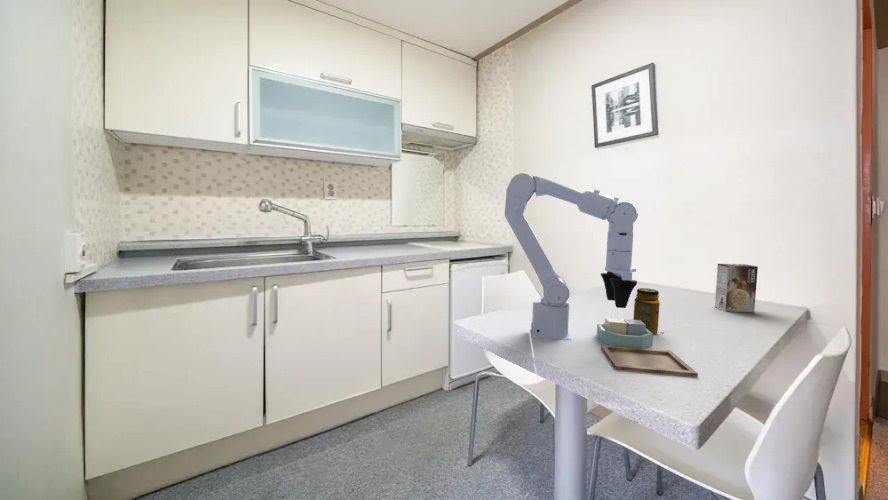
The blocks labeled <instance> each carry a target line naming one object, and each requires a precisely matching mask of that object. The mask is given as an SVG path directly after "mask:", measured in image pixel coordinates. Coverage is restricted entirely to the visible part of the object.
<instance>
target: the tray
mask: <svg viewBox="0 0 888 500" xmlns="http://www.w3.org/2000/svg"><path fill="white" fill-rule="evenodd" d="M600 349H601V350H602V352H603V353H604V355H605V357H607V359H608V361H609V362H610V364H611V366H612V367H613V368H614V370H616V371H626V372H627V371H628V372H638V373H648V374H649V373H650V374H660V375H671V376H672V375H673V376H679V377H680V376H682V377H692V378H693V377H694V378H698V377H699V373H698V372H697V371H696V370H695V369H693V368H692V367H691V366H690V365H689V364H688V363H687V362H685V361H684V360H682V359H681V358H680V357H679V356H678V355H677V354H675V353H674V352H673V351H671V350H670V349H668V350H667V349H655V348H653V349H652V348H645V349H644V348H631V347H618V346H612V345H605V344H604V345H602V344H601V345H600Z"/></svg>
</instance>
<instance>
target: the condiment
mask: <svg viewBox="0 0 888 500" xmlns="http://www.w3.org/2000/svg"><path fill="white" fill-rule="evenodd" d="M659 294H660V293H659V291H658V290H657V289H653V288H645V287H643V288H638V289H636V295H635V296H636V297H635V298H634V303H633V318H632V320H641V321H642V322H643V323H644V324H646V329H648V330H649V331H650V332H651V333H653V335H663V334H664V333H665V332H662V331H659V317H660V305H661V304H660V302H661V301H660V300H659Z"/></svg>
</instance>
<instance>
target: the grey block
mask: <svg viewBox="0 0 888 500" xmlns="http://www.w3.org/2000/svg"><path fill="white" fill-rule="evenodd" d="M622 319H623V320H624V321H625V322H626V323H627V329H626V335H633V336H641V335H644V334H645V331H646V324H644V323H643V322H642V321H641V320H633V319H629V318H627V319H626V318H622Z"/></svg>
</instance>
